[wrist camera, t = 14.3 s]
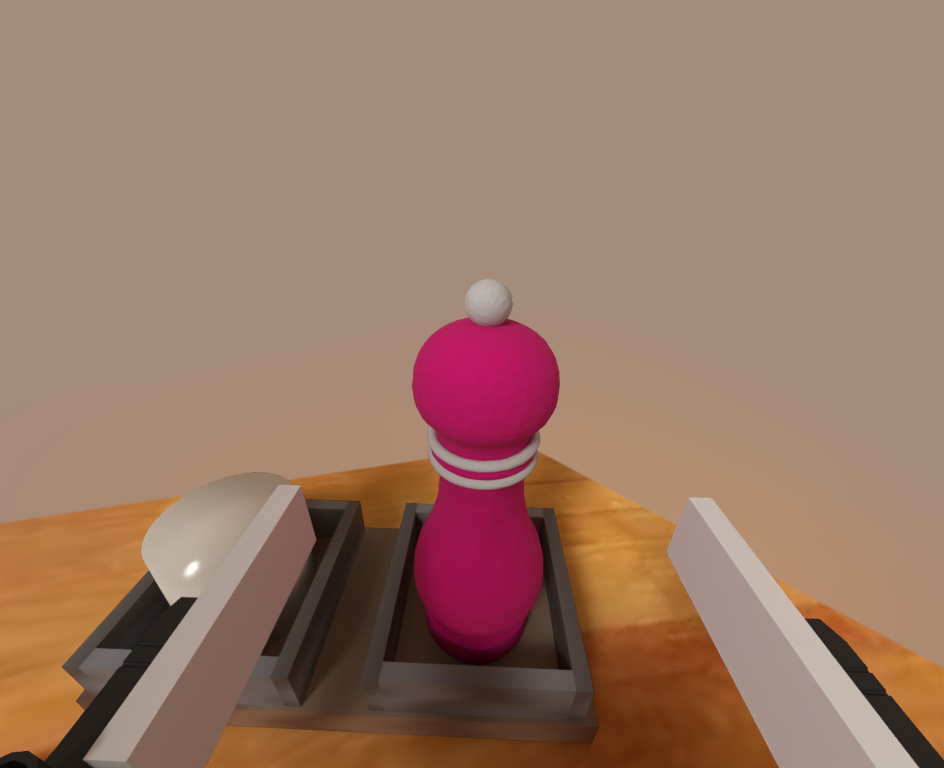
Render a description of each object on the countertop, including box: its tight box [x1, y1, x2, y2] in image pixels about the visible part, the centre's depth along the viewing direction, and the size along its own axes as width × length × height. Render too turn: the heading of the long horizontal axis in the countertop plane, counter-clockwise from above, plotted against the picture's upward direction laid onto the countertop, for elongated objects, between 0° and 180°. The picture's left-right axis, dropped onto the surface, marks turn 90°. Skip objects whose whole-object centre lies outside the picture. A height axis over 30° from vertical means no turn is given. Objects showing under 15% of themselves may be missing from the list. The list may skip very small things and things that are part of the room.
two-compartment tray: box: [62, 499, 599, 744], centre depth 22 cm, size 26×11×5 cm, turn 88°
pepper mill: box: [412, 279, 560, 664], centre depth 17 cm, size 7×7×20 cm
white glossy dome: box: [141, 472, 317, 647], centre depth 21 cm, size 7×7×7 cm
